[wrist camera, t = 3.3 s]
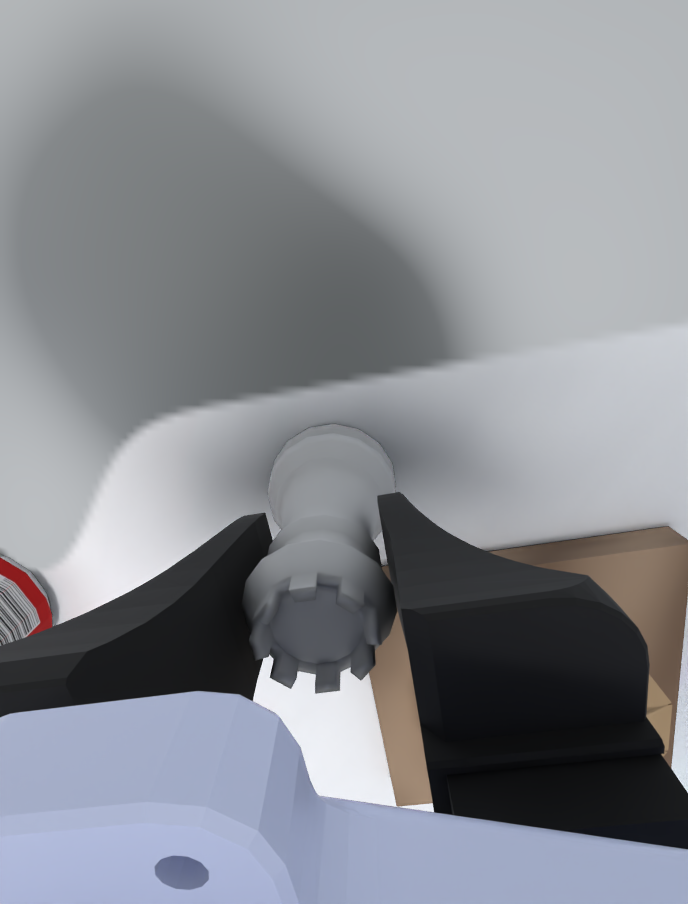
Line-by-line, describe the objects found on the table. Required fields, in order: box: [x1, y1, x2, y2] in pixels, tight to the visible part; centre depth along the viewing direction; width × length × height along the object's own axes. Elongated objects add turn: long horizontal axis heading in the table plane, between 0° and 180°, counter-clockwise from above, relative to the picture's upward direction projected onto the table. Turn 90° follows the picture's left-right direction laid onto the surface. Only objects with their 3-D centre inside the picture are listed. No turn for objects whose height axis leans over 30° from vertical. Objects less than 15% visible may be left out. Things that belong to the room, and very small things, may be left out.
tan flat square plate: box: [369, 526, 688, 806], centre depth 17 cm, size 12×12×3 cm
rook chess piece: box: [241, 424, 397, 693], centre depth 12 cm, size 4×4×8 cm
